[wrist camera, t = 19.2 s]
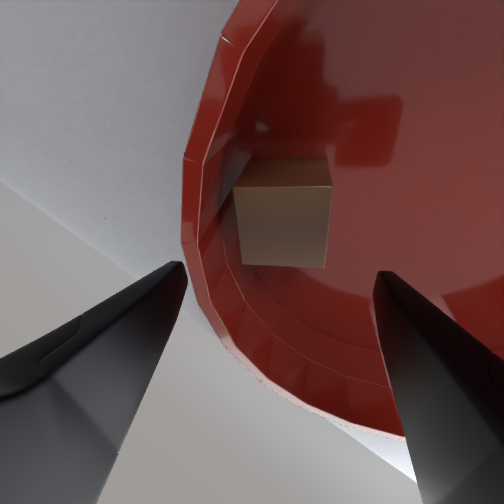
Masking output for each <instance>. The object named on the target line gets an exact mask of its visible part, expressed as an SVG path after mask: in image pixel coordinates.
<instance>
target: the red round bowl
mask: <svg viewBox="0 0 504 504" xmlns="http://www.w3.org/2000/svg"><path fill="white" fill-rule="evenodd" d="M221 34H222V35H221V36H220V38H219V41H218V44H217V47H216V50H215V54H214V57H213V60H212V64H211V67H210V70H209V73H208V77H207V80H206V83H205V87H204V90H203V93H202V97H201V100H200V103H199V106H198V110H197V113H196V116H195V120H194V123H193V126H192V129H191V133H190V136H189V139H188V143H187V146H186V149H185V152H184V157H183V173H182V212H181V245H182V248H183V252H184V256H185V259H186V263H187V267H188V271H189V274H190V278H191V282H192V285H193V289H194V293H195V296H196V300H197V302H198V305H199V306H200V308H201V310H202V311H203V313H204V315H205V316H206V318H207V319H208V321H209V323H210V324H211V326H212V328H213V329H214V331H215V333H216V334H217V336H218V337H219V339H220V341H221V342H222V344H223V346H224V347H225V348H226V349H227V350H228V351H229V352H230V353H231V354H232V355H233V356H234V357H235V358H236V359H237V360H238V361H239V362H240V363H241V364H242V365H243V366H244V367H245V368H246V369H247V370H248V371H249V372H250V373H251V374H252V375H254V377H255V378H256V379H257V380H258V381H260V382H261V383H263V384H264V385H266V386H268V387H269V388H271V389H272V390H274V391H276V392H277V393H279V394H280V395H282V396H283V397H285V398H286V399H288V400H290V401H291V402H293V403H294V404H296V405H297V406H299V407H301V408H303V409H306V410H308V411H311V412H313V413H315V414H318V415H320V416H322V417H325V418H327V419H329V420H332V421H334V422H336V423H339V424H341V425H344V426H346V427H349V428H353V429H357V430H360V431H364V432H368V433H372V434H375V435H379V436H383V437H386V438H390V439H394V440H398V441H404V442H406V439H405V435H404V431H403V427H402V424H401V420H400V416H399V413H398V409H397V405H396V401H395V398H394V394H393V390H392V387H391V383H390V379H389V375H388V372H387V368H386V364H385V361H384V357H383V353H382V349H381V346H380V342H379V337H378V330H377V323H376V316H375V308H374V301H373V288H374V284H375V280H376V276H377V273H378V272H379V271H393V272H394V273H396V274H397V275H398V276H399V277H401V278H402V279H403V280H404V281H405V282H407V283H408V284H409V285H410V286H412V287H413V288H414V289H415V290H417V291H418V292H419V293H420V294H422V295H423V296H424V297H425V298H427V299H428V300H429V301H430V302H432V303H433V304H434V305H435V306H437V307H438V308H439V309H440V310H442V311H443V312H444V313H445V314H446V315H448V316H449V317H450V318H451V319H453V320H454V321H455V322H456V323H458V324H459V325H460V326H461V327H463V328H464V329H465V330H466V331H468V332H469V333H470V334H471V335H473V336H474V337H475V338H476V339H478V340H479V341H480V342H481V343H482V344H484V345H485V346H486V347H487V348H489V349H490V350H491V353H495V354H496V355H498V356H499V357H500V358H501V359H503V360H504V0H239V2H238V4H237V6H236V7H235V9H234V11H233V13H232V14H231V16H230V18H229V19H228V21H227V23H226V25H225V26H224V28H223V30H222V32H221ZM313 157H327V160H328V164H329V169H330V174H331V179H332V184H333V194H332V204H331V213H330V223H329V233H328V242H327V252H326V261H325V268H314V267H292V266H270V265H248V264H242V262H241V254H240V246H239V238H238V230H237V221H236V213H235V205H234V197H233V189H232V188H233V186H234V184H235V182H236V181H237V179H238V178H239V176H240V174H241V173H242V171H243V169H244V168H245V166H246V164H247V163H248V161H249V160H250V159H277V158H313Z"/></svg>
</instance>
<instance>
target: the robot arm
mask: <svg viewBox="0 0 504 504" xmlns="http://www.w3.org/2000/svg"><path fill="white" fill-rule="evenodd" d="M187 285H188V277H187V274H186V270H185V267H184V264H183V262H181V261H170V262H169V263H167V264H165V265H164V266H162V267H160V268H159V269H157V270H155V271H153V272H152V273H150V274H148V275H147V276H145V277H143V278H142V279H140V280H138V281H137V282H135V283H133V284H132V285H130V286H128V287H127V288H125V289H123V290H121V291H120V292H118V293H116V294H115V295H113V296H111V297H110V298H108V299H106V300H105V301H103V302H101V303H99V304H98V305H96V306H95V307H93V308H91V309H90V310H88V311H86V312H84V313H83V315H79V316H78V317H76V318H74V319H72V320H71V321H69V322H67V323H66V324H64V325H62V326H61V327H59V328H57V329H55V330H53V331H52V332H50V333H48V334H46V335H44V336H42V337H41V338H38V339H37V340H35V341H33V342H31V343H29V344H27V345H25V346H23V347H21V348H20V349H18V350H16V351H14V352H12V353H10V354H8V355H6V356H4V357H2V358H0V504H97V502H98V500H99V497H100V495H101V493H102V490H103V488H104V486H105V484H106V481H107V479H108V477H109V474H110V472H111V470H112V467H113V465H114V463H115V461H116V459H117V456H118V452H119V451H120V449H121V446H122V444H123V442H124V440H125V437H126V435H127V433H128V431H129V428H130V426H131V424H132V421H133V419H134V417H135V415H136V412H137V409H138V408H139V405H140V403H141V401H142V398H143V396H144V394H145V392H146V389H147V387H148V385H149V382H150V380H151V378H152V375H153V373H154V371H155V369H156V366H157V364H158V362H159V359H160V357H161V355H162V353H163V350H164V348H165V345H166V343H167V341H168V339H169V337H170V334H171V332H172V330H173V327H174V325H175V323H176V320H177V317H178V314H179V311H180V308H181V304H182V301H183V298H184V295H185V291H186V288H187ZM373 301H374V308H375V316H376V323H377V330H378V337H379V342H380V346H381V349H382V353H383V357H384V361H385V364H386V368H387V372H388V375H389V379H390V383H391V387H392V390H393V394H394V398H395V401H396V405H397V409H398V413H399V416H400V420H401V424H402V427H403V431H404V435H405V439H406V442H407V446H408V450H409V453H410V457H411V461H412V465H413V468H414V472H415V476H416V479H417V483H418V487H419V491H420V494H421V498H422V502H423V504H504V360H503V359H501V358H500V357H499V356H498V355H496V354H495V353H491V350H490V349H489V348H487V347H486V346H485V345H484V344H482V343H481V342H480V341H479V340H478V339H476V338H475V337H474V336H473V335H471V334H470V333H469V332H468V331H466V330H465V329H464V328H463V327H461V326H460V325H459V324H458V323H456V322H455V321H454V320H453V319H451V318H450V317H449V316H448V315H446V314H445V313H444V312H443V311H442V310H440V309H439V308H438V307H437V306H435V305H434V304H433V303H432V302H430V301H429V300H428V299H427V298H425V297H424V296H423V295H422V294H420V293H419V292H418V291H417V290H415V289H414V288H413V287H412V286H410V285H409V284H408V283H407V282H405V281H404V280H403V279H402V278H401V277H399V276H398V275H397V274H396V273H394V272H393V271H379V272H378V273H377V276H376V280H375V284H374V288H373Z"/></svg>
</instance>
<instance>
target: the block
mask: <svg viewBox="0 0 504 504" xmlns="http://www.w3.org/2000/svg"><path fill="white" fill-rule="evenodd" d="M232 189H233V197H234V205H235V213H236V221H237V230H238V238H239V246H240V254H241V262H242V264H248V265H270V266H292V267H314V268H325V261H326V252H327V242H328V233H329V223H330V213H331V204H332V194H333V184H332V179H331V174H330V169H329V164H328V160H327V157H313V158H277V159H250V160H249V161H248V163H247V164H246V166H245V168H244V169H243V171H242V173H241V174H240V176H239V178H238V179H237V181H236V182H235V184H234V186H233V188H232Z"/></svg>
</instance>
